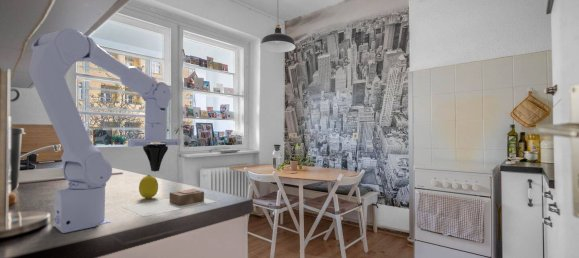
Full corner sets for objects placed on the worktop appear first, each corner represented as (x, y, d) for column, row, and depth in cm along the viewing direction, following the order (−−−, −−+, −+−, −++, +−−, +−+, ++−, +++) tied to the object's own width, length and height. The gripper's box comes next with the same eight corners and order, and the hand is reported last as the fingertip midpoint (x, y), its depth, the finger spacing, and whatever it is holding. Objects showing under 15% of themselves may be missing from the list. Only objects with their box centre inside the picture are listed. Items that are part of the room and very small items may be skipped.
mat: (143, 218, 75) (143, 216, 75) (121, 208, 84) (121, 206, 84) (216, 203, 92) (216, 201, 92) (191, 196, 101) (191, 194, 101)
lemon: (149, 202, 91) (149, 176, 91) (134, 201, 93) (135, 175, 93) (161, 198, 97) (162, 173, 97) (147, 197, 98) (148, 172, 98)
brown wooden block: (180, 194, 86) (204, 190, 92) (169, 191, 90) (193, 188, 96) (179, 206, 86) (203, 201, 92) (169, 202, 90) (193, 198, 96)
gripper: (172, 124, 95) (171, 167, 95) (123, 123, 84) (122, 171, 84) (184, 124, 90) (183, 169, 90) (134, 123, 79) (133, 174, 79)
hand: (155, 170), depth 87 cm, fingers closed
